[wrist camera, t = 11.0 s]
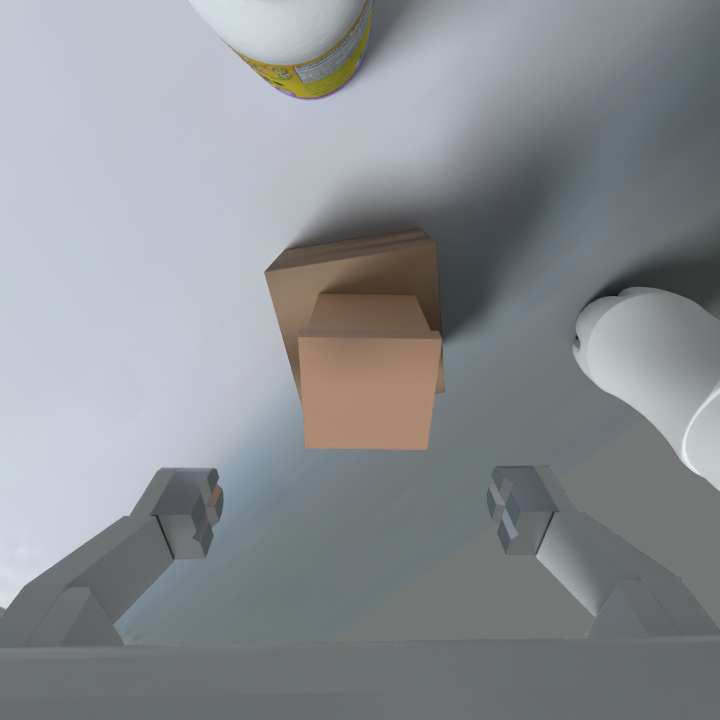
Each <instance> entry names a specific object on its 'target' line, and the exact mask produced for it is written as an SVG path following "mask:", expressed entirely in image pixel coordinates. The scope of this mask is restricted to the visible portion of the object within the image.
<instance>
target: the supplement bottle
mask: <svg viewBox="0 0 720 720" xmlns="http://www.w3.org/2000/svg"><path fill="white" fill-rule="evenodd" d="M188 1H189V3H190V4H191V6H192V7H193V8H194V10H195V11H196V13H197V14H198V15H199V16H200V18H201V19H202V20H203V21H204V22H205V24H206V25H207V26H208V27H209V28H210V29H211V30H212V31H213V32H214V33H215V34H216V35H217V36H218V37H219V38H220V39H221V40H222V41H223V42H224V43H226V44H227V45H228V46H229V47H230V48H231V49H232V50H233V51H234V52H235V53H237V54H238V55H239V56H240V57H241V58H242V59H243V60H244V61H245V62H246V63H247V64H248V65H249V66H250V67H251V68H252V69H253V70H255V71H256V72H257V73H258V74H259V75H260V76H261V77H262V78H263V79H264V80H265V81H267V82H268V83H269V84H270V85H271V86H273V87H274V88H276V89H277V90H278V91H280V92H282V93H284V94H285V95H288V96H290V97H293V98H296V99H300V100H319V99H323V98H326V97H329V96H331V95H333V94H335V93H336V92H338V91H339V90H340V89H342V88H343V87H344V86H345V85H346V84H347V83H348V82H349V81H350V80H351V79H352V78H353V76H354V75H355V73H356V72H357V70H358V68H359V67H360V65H361V63H362V60H363V58H364V55H365V52H366V49H367V45H368V41H369V36H370V30H371V21H372V12H373V1H374V0H188Z"/></svg>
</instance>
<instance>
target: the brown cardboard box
mask: <svg viewBox="0 0 720 720" xmlns="http://www.w3.org/2000/svg"><path fill="white" fill-rule="evenodd" d="M298 345H299V360H300V375H301V390H302V405H303V420H304V435H305V448H325V449H409V450H427V446H428V439H429V432H430V425H431V417H432V410H433V403H434V396H435V389H436V381H437V374H438V367H439V360H440V352H441V345H442V338H441V336H440V333H439V331H431V330H430V328H429V326H428V323H427V321H426V319H425V317H424V314H423V312H422V310H421V308H420V305H419V303H418V301H417V299H416V296H415V295H371V294H318V297H317V300H316V303H315V307H314V310H313V313H312V316H311V319H310V322H309V326H308V329H301V330H300V333H299V336H298Z"/></svg>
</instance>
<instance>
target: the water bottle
mask: <svg viewBox="0 0 720 720" xmlns="http://www.w3.org/2000/svg"><path fill="white" fill-rule="evenodd" d="M576 333H577V336H578V338H579V339H577V340H574V341H573V353H574V356H575V359H576V361H577V362H578V364H579V366H580V367H581V369H582V370H583V372H584V373H585V374H586V375H587V376H588V377H589V378H590V379H591V380H592V381H593V382H594V383H595V384H597V385H598V386H599V387H600V388H601V389H602V390H604V391H606V392H608V393H610V394H612V395H614V396H616V397H618V398H620V399H622V400H623V401H625V402H626V403H628V404H629V405H631V406H632V407H634V408H635V409H636V410H637V411H639V412H640V413H641V414H643V415H644V416H645V417H646V418H647V419H648V420H649V421H650V422H651V423H652V424H653V425H654V426H655V427H656V428H657V429H658V430H659V431H660V432H661V433H662V434H663V435H664V436H665V438H666V439H667V440H668V442H669V443H670V444H671V446H672V447H673V449H674V450H675V451H676V453H677V455H678V456H679V458H680V460H681V461H682V462H683V463H684V464H685V465H686V466H687V467H689V468H690V469H691V470H692V471H693V472H695V473H696V474H698V475H701V476H703V477H704V478H706V479H707V480H708V481H709V482H710V483H711V484H712V485H713V486H714V487H716V488H717V489H718V490H719V491H720V320H719V319H717V318H715V317H714V316H712V315H711V314H709V313H708V312H707V311H706V310H705V309H703V308H702V307H701V306H700V305H698V304H697V303H695V302H694V301H692V300H690V299H688V298H685V297H683V296H680V295H678V294H675V293H672V292H669V291H665V290H661V289H657V288H650V287H630V288H627V289H624V290H623V291H621V292H620V293H619V295H618V297H617V296H609V297H603V298H599V299H597V300H595V301H594V302H592V303H590V304H588V305H587V306H586V307H585V308H584V309H583V310H582V312H581V313H580V314H579V316H578V320H577V322H576Z"/></svg>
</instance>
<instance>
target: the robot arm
mask: <svg viewBox="0 0 720 720" xmlns="http://www.w3.org/2000/svg"><path fill="white" fill-rule="evenodd" d="M492 477H493V480H494V482H493V483H492V484H491V485H490V486H489V488H488V492H487V504H488V509H489V512H490V515H491V518H492V519H493V520H494V521H495V522H496V523H497V524H498V525H500V526H499V529H498V532H497V533H498V536H499V538H500V541H501V544H502V546H503V549H504V551H505V554H506V555H537V556H536V557H537V558H538V559H539V560H540V561H541V562H542V564H544V566H546V568H547V569H548V570H549V571H550V572H551V573H552V574H553V575H554V576H556V578H557V579H558V580H559V581H560V582H561V583H562V584H563V585H564V586H565V587H566V588H567V589H568V590H569V591H570V592H571V593H572V594H573V595H574V596H575V597H576V598H577V599H578V600H579V601H580V602H581V603H582V604H583V605H584V606H585V607H586V608H587V609H588V610H589V611H590V612H591V613H592V614H593V615H594V616H595V617H596V618H595V620H594V621H593V623H592V625H591V626H590V628H589V629H588V631H587V633H586V635H585V637H583V638H528V639H527V638H526V639H467V640H406V641H349V642H291V643H234V644H178V645H124V643H123V640H122V638H121V637H120V635H119V633H118V632H117V630H116V629H115V627H114V626H113V624H114V623H115V622H116V621H117V620H118V619H119V618H120V617H121V616H122V615H123V614H124V613H125V612H126V611H127V610H128V609H129V608H130V607H131V606H132V604H133V603H134V602H135V601H136V600H137V599H138V598H139V597H140V596H141V595H142V594H143V593H144V592H145V591H146V590H147V589H148V588H149V587H150V586H151V585H152V584H153V583H154V582H155V581H156V580H157V578H158V577H159V576H160V575H161V574H162V573H163V572H164V571H165V570H166V569H167V568H168V567H169V566H170V565H171V564H172V563H173V562H174V560H176V559H201V558H206V555H207V552H208V550H209V547H210V544H211V542H212V539H213V532H212V527H213V526H214V525H215V524H217V523H218V522H219V519H220V516H221V513H222V508H223V502H224V501H223V491H222V488H221V487H220V486H219V485H217V481H218V479H219V475H218V472H217V469H215V468H161V469H160V470H158V471H157V472H156V474H155V475H154V477H153V479H152V480H151V482H150V483H149V485H148V487H147V488H146V490H145V492H144V493H143V495H142V496H141V498H140V500H139V501H138V503H137V504H136V506H135V508H134V509H133V511H132V513H131V514H130V516H123V517H122V518H121V519H119V520H118V521H116V522H115V523H113V524H112V525H111V526H109V527H108V528H106V529H105V530H103V531H102V532H101V533H99V534H98V535H96V536H95V537H93V538H92V539H91V540H89V541H88V542H86V543H85V544H84V545H82V546H81V547H79V548H78V549H76V550H75V551H74V552H72V553H71V554H69V555H68V556H66V557H65V558H64V559H62V560H61V561H59V562H58V563H56V564H55V565H54V566H52V567H51V568H49V569H48V570H46V571H45V572H44V573H42V574H41V575H39V576H38V577H37V578H35V579H34V580H32V581H31V582H29V583H28V584H27V585H25V586H24V587H23V589H22V590H21V591H20V593H19V594H18V595H17V596H16V598H15V599H14V600H13V602H12V603H11V604H10V606H9V607H8V608H7V610H6V611H5V612H4V614H3V615H2V616H1V617H0V720H720V629H719V627H718V626H717V625H716V623H715V622H714V621H713V620H712V618H711V617H710V616H709V614H708V613H707V612H706V611H705V609H704V608H703V607H702V605H701V604H700V603H699V601H698V600H697V599H696V598H695V596H694V595H693V594H692V593H691V591H690V590H689V589H688V587H687V586H686V585H685V583H684V582H683V581H682V580H681V578H680V577H678V576H677V575H675V574H674V573H672V572H671V571H670V570H668V569H667V568H665V567H664V566H662V565H661V564H659V563H658V562H656V561H655V560H653V559H652V558H650V557H649V556H648V555H646V554H645V553H643V552H642V551H640V550H639V549H637V548H636V547H634V546H633V545H632V544H630V543H629V542H627V541H626V540H625V539H623V538H622V537H620V536H619V535H617V534H616V533H614V532H613V531H611V530H610V529H608V528H607V527H606V526H604V525H603V524H601V523H600V522H598V521H597V520H595V519H594V518H593V517H591V516H589V515H588V514H587V513H585V512H579V511H578V509H577V508H576V506H575V504H574V503H573V501H572V500H571V498H570V497H569V495H568V494H567V492H566V491H565V489H564V487H563V486H562V484H561V483H560V481H559V480H558V478H557V477H556V475H555V474H554V472H553V470H552V469H551V468H550V467H549V466H547V465H541V466H496V467H495V468H494V469H493V473H492Z"/></svg>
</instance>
